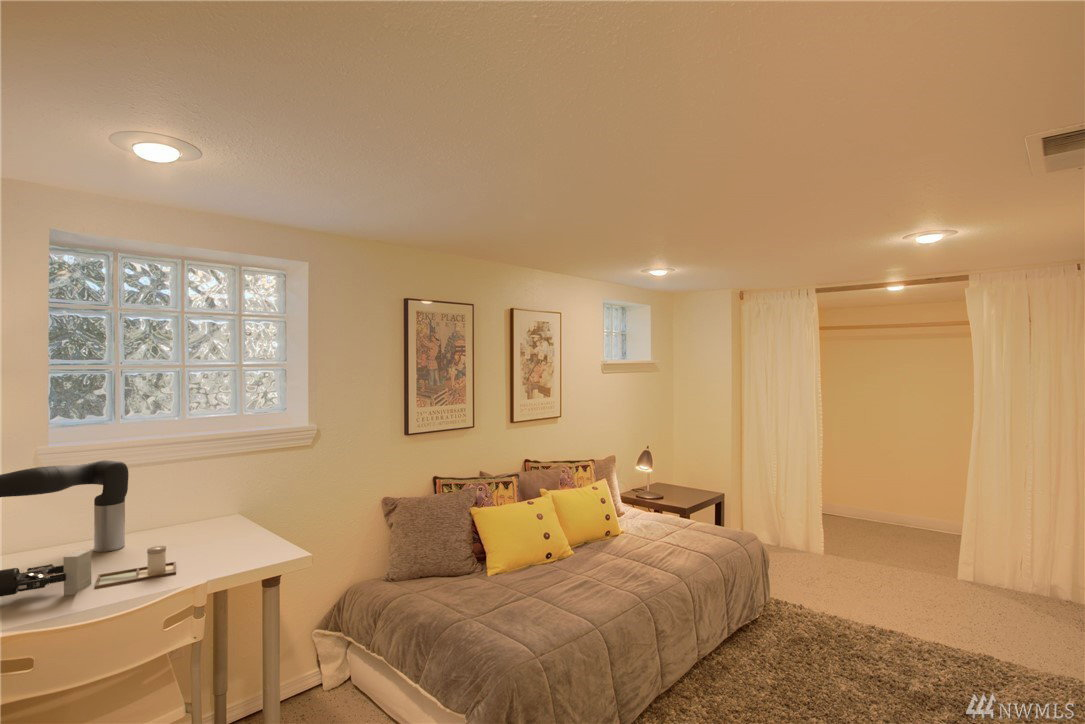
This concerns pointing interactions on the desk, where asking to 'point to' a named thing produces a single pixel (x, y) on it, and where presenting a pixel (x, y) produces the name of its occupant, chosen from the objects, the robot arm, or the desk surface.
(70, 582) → the skincare box
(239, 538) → the desk surface
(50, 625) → the desk surface
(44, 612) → the desk surface
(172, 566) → the organizer
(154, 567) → the cream jar
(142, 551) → the desk surface
